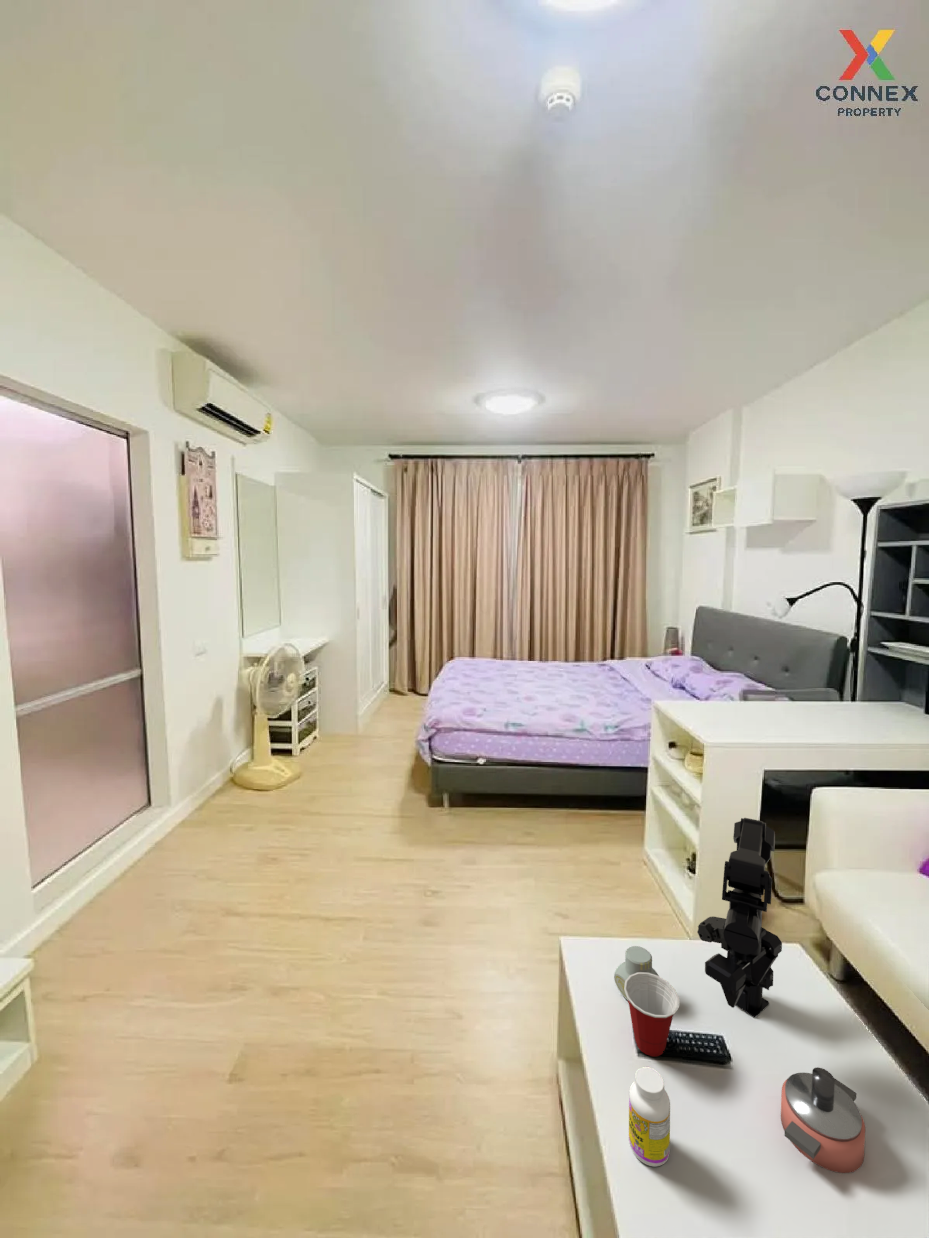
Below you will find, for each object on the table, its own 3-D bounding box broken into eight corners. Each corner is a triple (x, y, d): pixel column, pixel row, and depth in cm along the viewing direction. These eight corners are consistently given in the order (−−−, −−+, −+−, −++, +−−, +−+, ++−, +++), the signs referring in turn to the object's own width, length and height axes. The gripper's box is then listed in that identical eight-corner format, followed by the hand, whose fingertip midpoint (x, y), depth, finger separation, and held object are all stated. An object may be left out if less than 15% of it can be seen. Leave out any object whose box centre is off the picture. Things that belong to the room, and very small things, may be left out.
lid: (802, 1066, 99) (803, 1036, 99) (872, 1115, 90) (874, 1083, 90) (773, 1100, 93) (774, 1069, 93) (845, 1156, 84) (847, 1122, 84)
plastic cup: (656, 1079, 103) (657, 1022, 102) (612, 1039, 112) (612, 986, 111) (690, 1050, 109) (691, 996, 108) (646, 1014, 118) (646, 964, 117)
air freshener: (669, 1005, 120) (669, 964, 119) (640, 1018, 117) (640, 975, 116) (636, 972, 130) (636, 934, 129) (609, 983, 127) (609, 944, 126)
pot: (805, 1079, 102) (806, 1055, 101) (881, 1133, 92) (882, 1107, 92) (760, 1134, 92) (761, 1108, 92) (839, 1200, 83) (841, 1171, 82)
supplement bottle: (622, 1129, 94) (622, 1062, 93) (658, 1125, 94) (659, 1058, 93) (638, 1171, 87) (638, 1100, 86) (677, 1166, 88) (677, 1095, 87)
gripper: (730, 885, 117) (729, 952, 118) (680, 918, 106) (679, 991, 108) (784, 911, 108) (781, 983, 109) (735, 950, 97) (733, 1029, 99)
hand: (743, 994), depth 106 cm, fingers open, 9 cm apart
